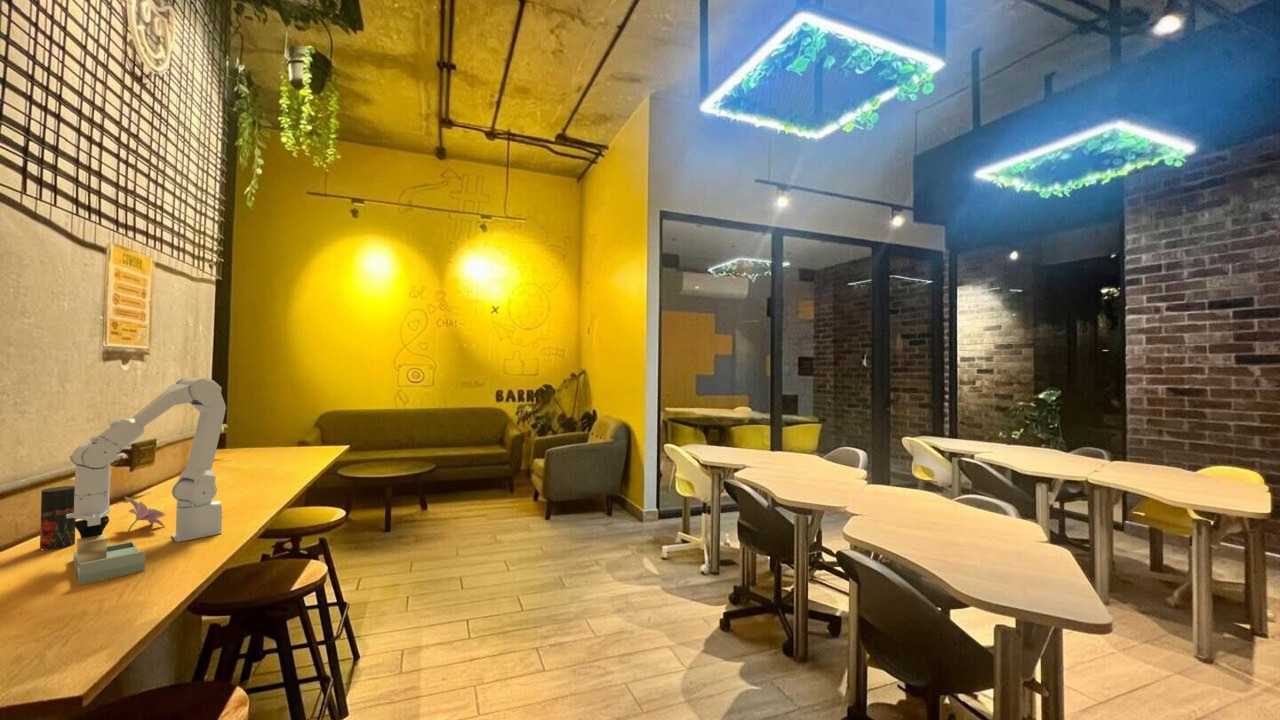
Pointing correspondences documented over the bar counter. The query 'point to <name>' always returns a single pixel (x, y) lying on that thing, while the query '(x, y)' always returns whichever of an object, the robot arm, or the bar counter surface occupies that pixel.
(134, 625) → the bar counter surface
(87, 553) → the beech block
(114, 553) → the board
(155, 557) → the bar counter surface
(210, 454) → the robot arm
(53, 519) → the deodorant
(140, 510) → the lily
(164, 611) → the bar counter surface
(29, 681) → the bar counter surface
